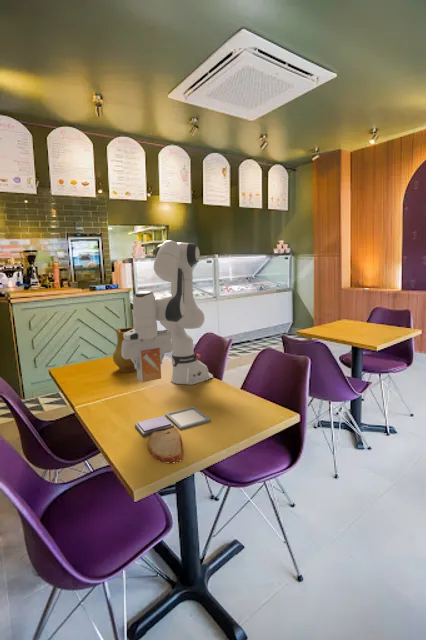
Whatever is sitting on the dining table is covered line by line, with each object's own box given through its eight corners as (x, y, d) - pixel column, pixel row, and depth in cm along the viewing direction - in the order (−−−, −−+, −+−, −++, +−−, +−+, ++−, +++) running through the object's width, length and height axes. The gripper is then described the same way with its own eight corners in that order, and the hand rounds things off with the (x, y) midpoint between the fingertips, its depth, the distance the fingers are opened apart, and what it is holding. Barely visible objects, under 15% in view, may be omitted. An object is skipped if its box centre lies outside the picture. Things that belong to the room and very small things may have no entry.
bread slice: (176, 467, 109) (175, 455, 108) (130, 454, 117) (129, 443, 117) (204, 440, 124) (204, 430, 124) (162, 431, 133) (162, 421, 132)
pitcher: (133, 362, 225) (131, 324, 220) (150, 369, 212) (147, 329, 206) (108, 369, 214) (105, 329, 208) (124, 377, 200) (120, 334, 195)
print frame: (193, 408, 152) (193, 406, 151) (210, 421, 139) (210, 419, 139) (165, 415, 145) (165, 413, 145) (180, 429, 132) (180, 427, 132)
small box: (142, 383, 139) (140, 350, 136) (137, 378, 144) (134, 347, 142) (161, 378, 143) (160, 347, 141) (155, 374, 148) (153, 344, 146)
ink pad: (164, 418, 142) (163, 414, 142) (174, 428, 134) (173, 424, 134) (135, 426, 137) (134, 422, 136) (143, 436, 128) (143, 432, 128)
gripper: (167, 328, 148) (169, 360, 150) (118, 334, 138) (121, 368, 140) (173, 330, 142) (175, 363, 144) (123, 337, 133) (126, 372, 135)
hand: (148, 366), depth 142 cm, fingers closed on small box, 8 cm apart
